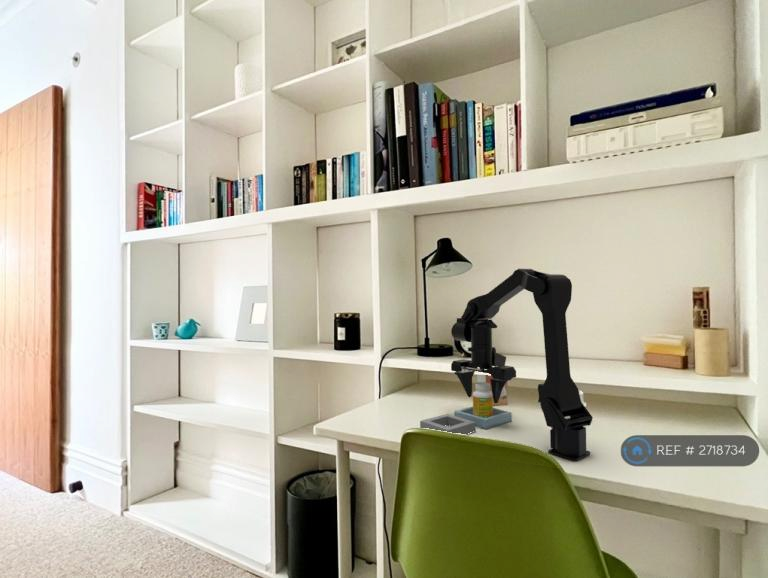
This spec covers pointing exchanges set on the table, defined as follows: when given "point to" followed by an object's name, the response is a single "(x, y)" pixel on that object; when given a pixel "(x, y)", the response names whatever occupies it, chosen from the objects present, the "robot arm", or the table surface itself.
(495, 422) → the tray
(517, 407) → the table surface
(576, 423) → the robot arm
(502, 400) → the small box
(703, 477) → the table surface
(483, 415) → the supplement bottle
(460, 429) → the holder
